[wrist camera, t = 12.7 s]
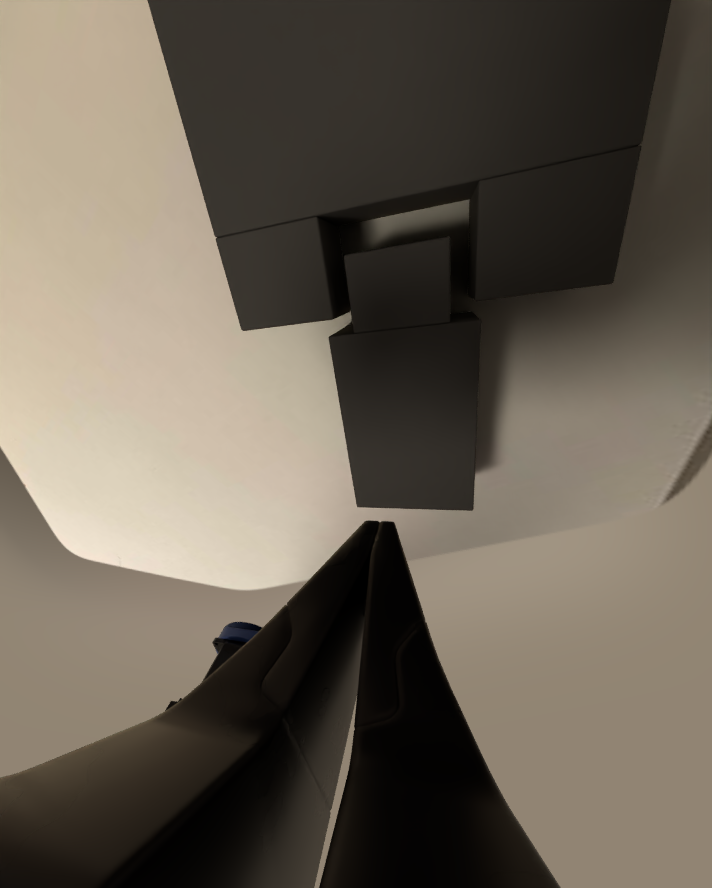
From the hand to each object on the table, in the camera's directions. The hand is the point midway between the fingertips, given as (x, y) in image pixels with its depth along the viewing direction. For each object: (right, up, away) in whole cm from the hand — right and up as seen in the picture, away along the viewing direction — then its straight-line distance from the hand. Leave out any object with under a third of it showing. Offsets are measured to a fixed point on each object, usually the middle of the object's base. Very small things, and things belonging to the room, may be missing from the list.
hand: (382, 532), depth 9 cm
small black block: (+2, +6, +7) cm, 9 cm away
